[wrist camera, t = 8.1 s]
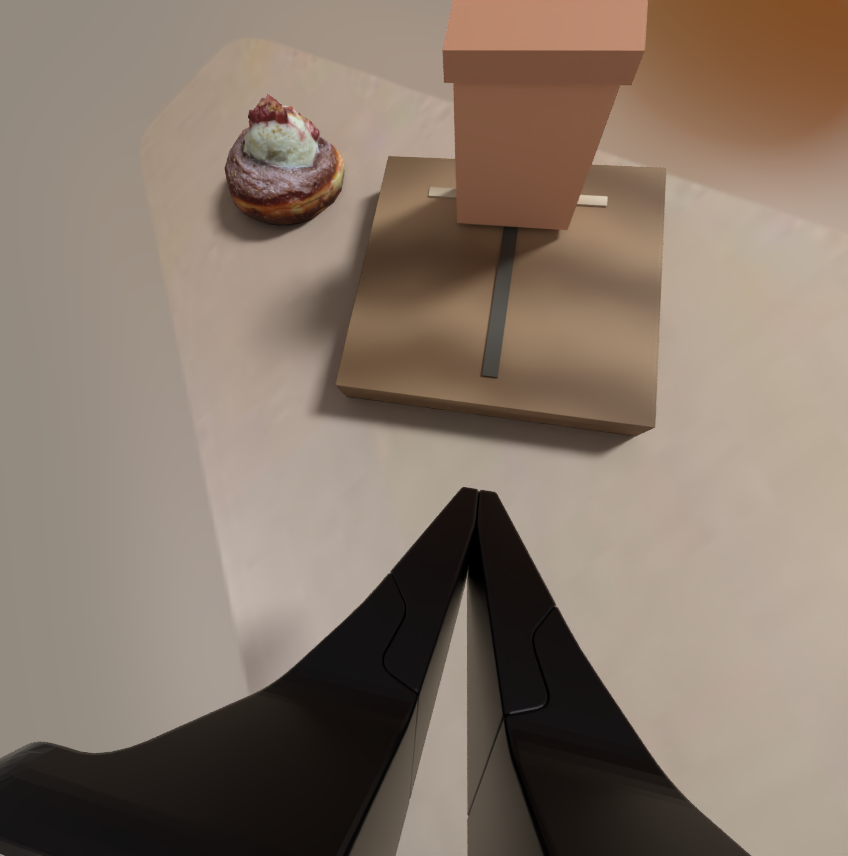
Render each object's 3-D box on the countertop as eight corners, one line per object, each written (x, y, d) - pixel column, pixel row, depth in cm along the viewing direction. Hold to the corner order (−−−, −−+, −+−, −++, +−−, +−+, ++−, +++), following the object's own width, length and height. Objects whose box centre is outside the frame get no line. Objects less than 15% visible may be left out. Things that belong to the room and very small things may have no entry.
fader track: (636, 435, 20) (656, 426, 18) (346, 396, 22) (334, 384, 20) (648, 197, 23) (666, 166, 21) (394, 184, 25) (388, 154, 23)
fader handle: (572, 235, 20) (644, 50, 12) (450, 227, 21) (442, 50, 13) (578, 180, 21) (649, -29, 13) (460, 174, 22) (458, -24, 14)
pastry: (358, 148, 26) (334, 65, 21) (329, 239, 25) (296, 172, 20) (256, 139, 27) (211, 59, 23) (222, 226, 26) (166, 160, 21)
